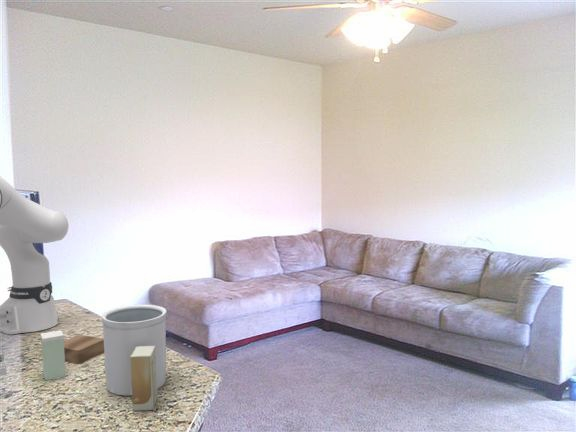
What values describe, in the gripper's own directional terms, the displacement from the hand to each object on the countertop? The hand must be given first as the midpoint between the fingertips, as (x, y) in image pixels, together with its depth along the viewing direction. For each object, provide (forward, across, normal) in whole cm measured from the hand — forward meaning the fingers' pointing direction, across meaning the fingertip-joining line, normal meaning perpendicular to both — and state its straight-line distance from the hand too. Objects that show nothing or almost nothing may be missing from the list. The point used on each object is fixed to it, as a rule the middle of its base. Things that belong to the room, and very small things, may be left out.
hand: (5, 363), depth 121 cm
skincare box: (+25, -29, +6) cm, 39 cm away
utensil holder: (+27, -17, +6) cm, 32 cm away
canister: (+10, 0, +5) cm, 12 cm away
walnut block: (+18, +11, +6) cm, 22 cm away
